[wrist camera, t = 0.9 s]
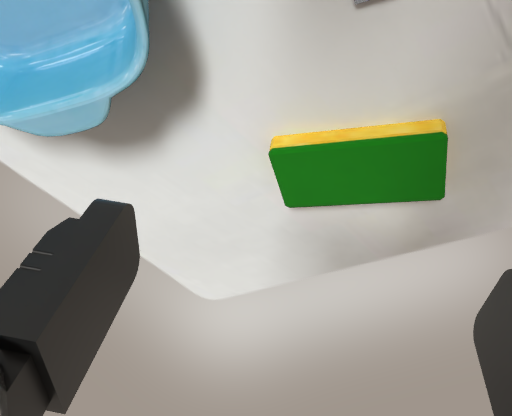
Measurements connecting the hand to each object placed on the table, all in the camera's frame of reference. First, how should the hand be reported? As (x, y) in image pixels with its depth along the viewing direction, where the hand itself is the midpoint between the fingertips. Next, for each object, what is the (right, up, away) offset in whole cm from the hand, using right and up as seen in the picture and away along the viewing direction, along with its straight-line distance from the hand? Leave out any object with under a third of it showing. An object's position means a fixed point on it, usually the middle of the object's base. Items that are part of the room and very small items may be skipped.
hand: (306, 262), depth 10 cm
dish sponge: (+8, +6, +29) cm, 30 cm away
